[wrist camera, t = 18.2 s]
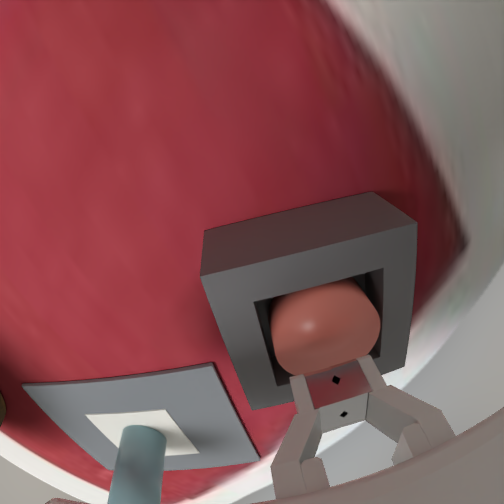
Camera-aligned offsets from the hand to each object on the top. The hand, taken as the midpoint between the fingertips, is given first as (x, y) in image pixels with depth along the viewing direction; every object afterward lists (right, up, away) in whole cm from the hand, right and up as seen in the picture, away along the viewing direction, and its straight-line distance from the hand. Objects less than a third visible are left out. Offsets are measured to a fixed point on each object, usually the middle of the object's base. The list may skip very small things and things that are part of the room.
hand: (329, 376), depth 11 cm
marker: (-11, -10, +10) cm, 18 cm away
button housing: (0, +3, +5) cm, 6 cm away
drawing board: (-11, -10, +10) cm, 18 cm away
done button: (0, +2, +3) cm, 4 cm away
